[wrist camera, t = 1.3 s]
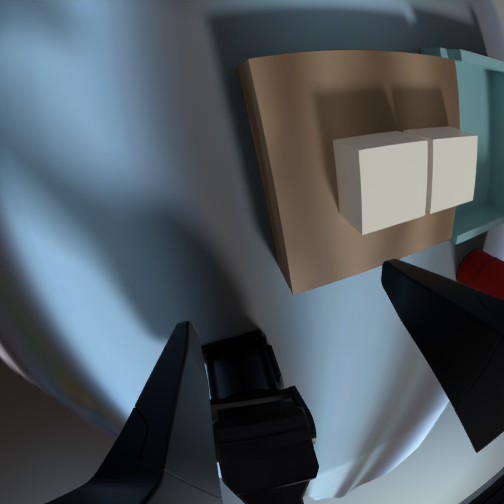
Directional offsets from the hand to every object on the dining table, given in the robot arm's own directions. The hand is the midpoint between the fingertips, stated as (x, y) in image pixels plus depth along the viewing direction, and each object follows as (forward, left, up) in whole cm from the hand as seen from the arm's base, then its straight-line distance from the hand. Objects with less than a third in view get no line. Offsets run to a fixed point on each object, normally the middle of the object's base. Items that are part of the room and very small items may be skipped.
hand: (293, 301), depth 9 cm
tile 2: (+8, 0, -9) cm, 12 cm away
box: (+24, 0, -13) cm, 27 cm away
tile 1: (+14, 0, -9) cm, 17 cm away
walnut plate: (+10, 0, -13) cm, 16 cm away
